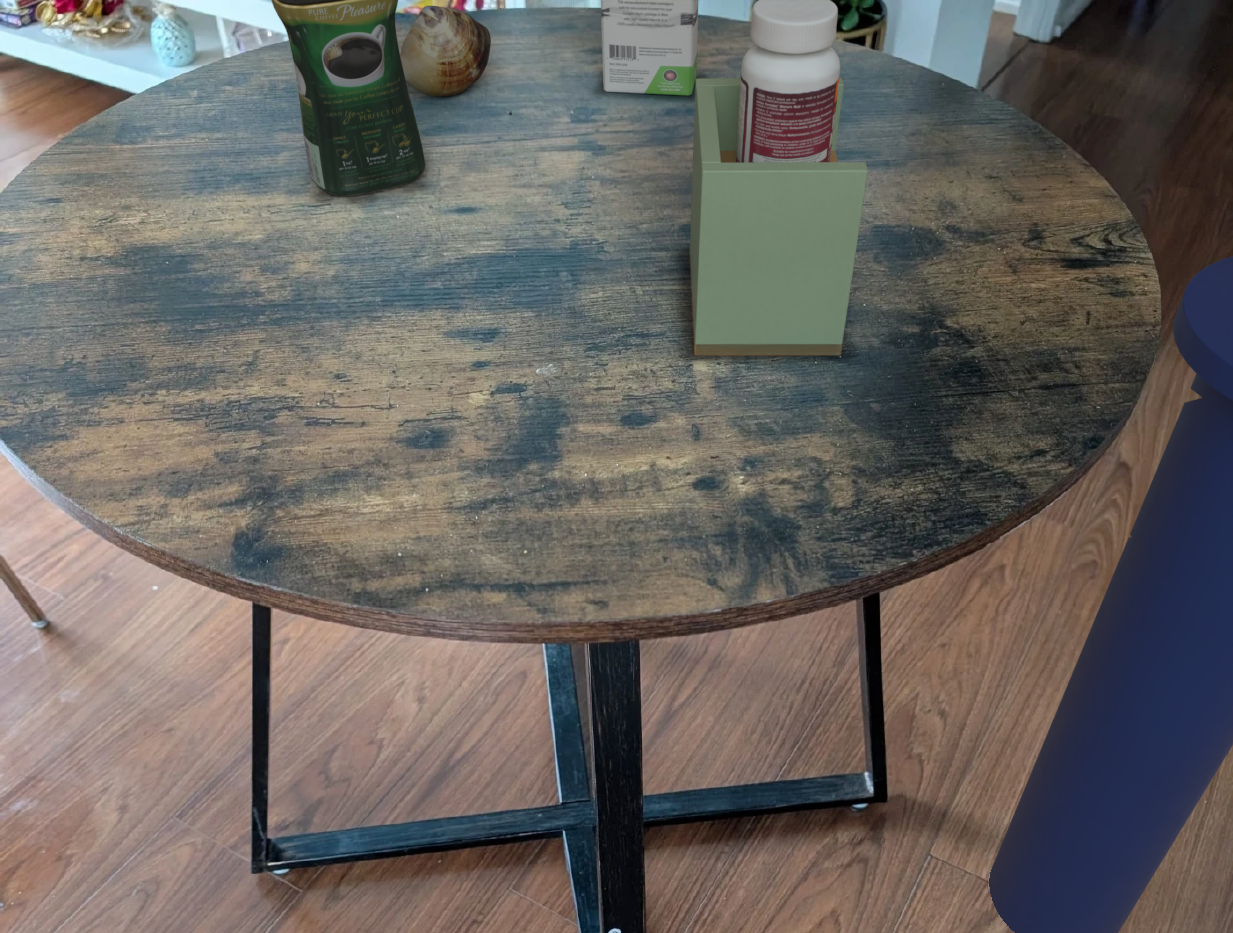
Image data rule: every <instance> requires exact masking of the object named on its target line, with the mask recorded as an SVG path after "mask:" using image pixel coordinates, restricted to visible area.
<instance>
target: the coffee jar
mask: <svg viewBox="0 0 1233 933" xmlns="http://www.w3.org/2000/svg"><path fill="white" fill-rule="evenodd" d="M271 3H272V6H273V9H274V11H275V13H276V15H277V17H278V18H279V20H280V22H281V23H282V25H283V27H284V29H285V32H286V34H287V37H288V41H289V42H288V43H289V48H290V51H291V56H292V60H293V64H294V65H293V66H294V72H295V78H296V84H297V92H298V99H299V100H298V101H299V108H300V115H301V124H302V125H301V126H302V134H303V141H304V142H303V143H304V150H305V155H306V159H307V160H306V161H307V165H308V169H309V175H310V176H311V179H312V181H313V182H314V184H315V186H316V187H317V188H318V189H320V190H321V191H323V192H325V193H327V194H330V195H332V196H336V197H350V196H357V195H364V194H371V193H374V192H375V193H376V192H379V191H384V190H389V189H393V188H398V187H403V186H406V185H408V184H412V183H414V182H415V181H417V180H418V179H419V178H420V177H421V176H422V174H424V171H425V168H426V160H425V154H424V149H423V143H422V139H421V135H420V131H419V127H418V122H417V118H416V115H415V112H414V108H413V104H412V100H411V95H410V92H409V88H408V84H407V83H406V80H405V75H404V71H403V67H402V62H401V57H400V53H401V51H400V47H399V44H398V42H399V41H398V35H397V34H398V33H397V26H396V13H397V8H398V4H399V0H271Z"/></svg>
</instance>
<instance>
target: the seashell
mask: <svg viewBox="0 0 1233 933" xmlns="http://www.w3.org/2000/svg"><path fill="white" fill-rule="evenodd" d="M491 38H492V37H491V33H490V31H489V29H488V28H487V26H485V25H483V24H482V23H481V22H479V21H477V20H476V19H475V18H474V17H473V16H471V15H470V14H469V13H467V12H464V11H462V10H460V9H458V8H455V7H446V6H438V5H424V6H423V7H422V8H421V10H420V11H419V12H418V14H417V17H416V18H415V20H414V22H413V24H412V26H411V28H410V29H409V32H408V34H407V35H406V36H405V38H404V40H403V42H402V45H401V47H400V57H401V62H402V67H403V71H404V75H405V80H406V84H407V86H409V87H411V88H413V89H414V90H415V91H417V92H420V93H421V94H424V95H427V96H431V97H432V96H433V97H451V96H455V95H456V96H457V95H458V94H461V93H462V92H465V91H466V90H467V89H468V88H469V87H471V86H472V85H474V84H475V83H476V82H477V81H478V80H479V79H480V78H481V76H482V75H483V73H484V71H485V69H486V67H487V66H488V61H489V60H490V59H489V58H490V53H491V44H492V40H491Z"/></svg>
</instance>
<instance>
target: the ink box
mask: <svg viewBox="0 0 1233 933" xmlns="http://www.w3.org/2000/svg"><path fill="white" fill-rule="evenodd" d="M600 17H601V18H600V19H601V21H600V22H601V23H600V24H601V52H602V53H601V54H602V57H601V58H602V83H603V84H602V85H603V90H604V92H607V93H625V94H627V93H628V94H646V95H647V94H648V95H649V94H650V95H664V96H665V95H667V96H668V95H669V96H692V94H693V91H694V88H695V85H696V79H697V75H698V39H699V38H698V36H699V35H698V34H699V32H698V30H699V0H600Z"/></svg>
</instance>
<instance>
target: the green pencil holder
mask: <svg viewBox="0 0 1233 933" xmlns="http://www.w3.org/2000/svg"><path fill="white" fill-rule="evenodd" d="M740 81H741V77H734V78H733V77H730V78H728V77H727V78H726V77H723V78H722V77H721V78H717V77H716V78H715V77H713V78H710V77H709V78H708V77H707V78H705V77H704V78H696V80H695V85H694V88H695V90H694V117H693V120H694V121H693V146H692V172H691V173H692V174H691V175H692V176H691V199H690V200H691V202H690V228H689V270H690V290H691V309H692V310H691V311H692V312H691V314H692V330H693V333H692V334H693V353H694V356H841V355H842V351H843V350H842V349H843V344H844V342H843V341H844V336H845V335H844V334H845V328H846V322H847V315H848V308H849V302H850V296H851V288H852V283H853V276H854V275H853V274H854V269H855V261H856V255H857V247H858V241H859V234H860V228H861V221H862V215H863V208H864V200H865V195H866V194H865V193H866V188H867V180H868V174H869V168H868V166H867V163H866V162H865V161H839V159H838V154H837V152H836V150H837V143H838V142H837V141H838V133H839V127H840V126H839V125H840V119H841V110H842V102H843V96H844V95H843V94H844V87H845V84H844V81H843V77H839V86H838V95H837V104H836V114H835V122H834V130H833V139H832V147H831V156H830V162H766V163H736V150H737V132H738V115H739V97H740Z"/></svg>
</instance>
